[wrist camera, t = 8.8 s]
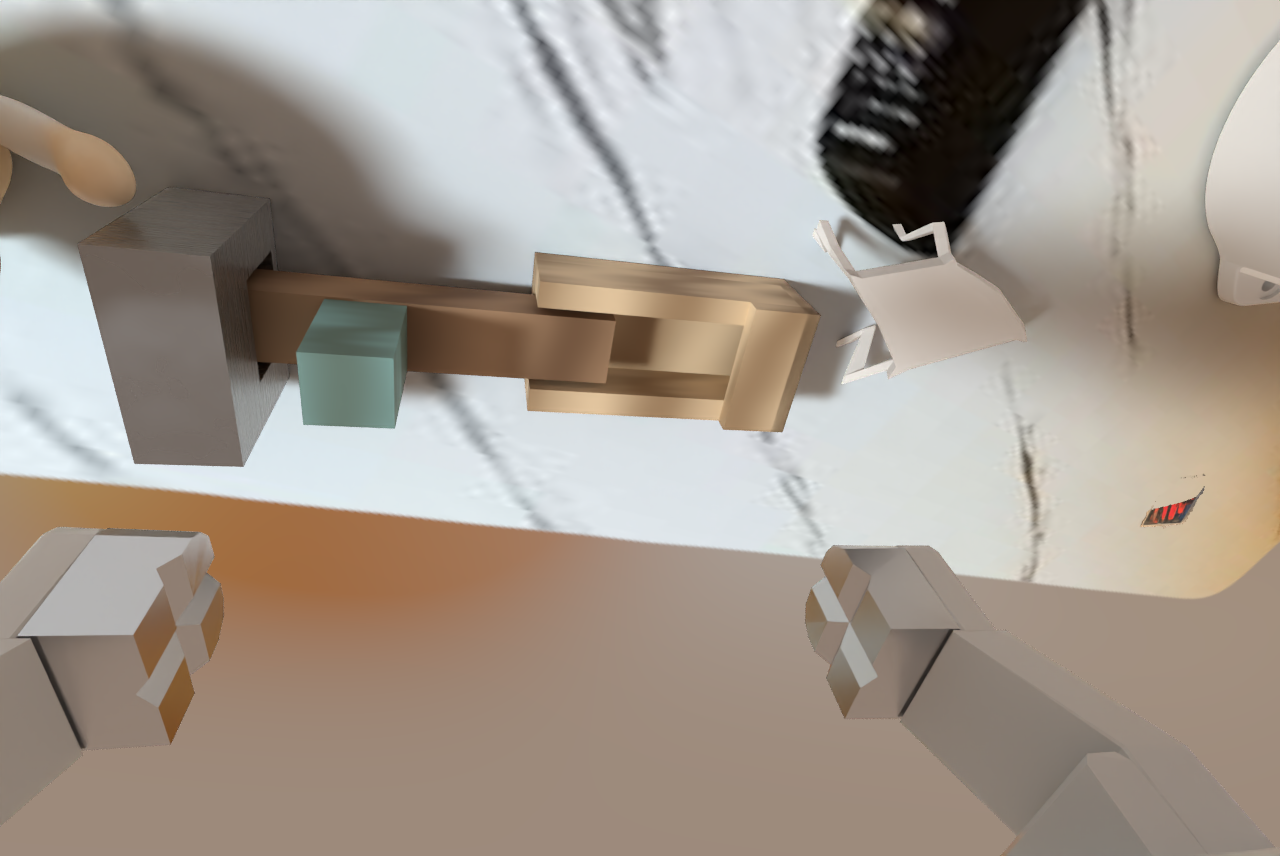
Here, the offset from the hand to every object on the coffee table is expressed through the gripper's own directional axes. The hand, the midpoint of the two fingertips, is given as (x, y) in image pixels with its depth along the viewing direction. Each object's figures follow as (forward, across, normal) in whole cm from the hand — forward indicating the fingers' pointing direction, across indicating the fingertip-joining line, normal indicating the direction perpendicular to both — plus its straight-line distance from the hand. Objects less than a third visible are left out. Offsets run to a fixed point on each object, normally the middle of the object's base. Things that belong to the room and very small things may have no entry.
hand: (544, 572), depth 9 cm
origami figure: (+24, -19, +3) cm, 30 cm away
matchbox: (+25, -46, +17) cm, 55 cm away
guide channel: (+23, -6, +6) cm, 25 cm away
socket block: (+22, +12, +6) cm, 26 cm away
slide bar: (+21, +4, +6) cm, 23 cm away
